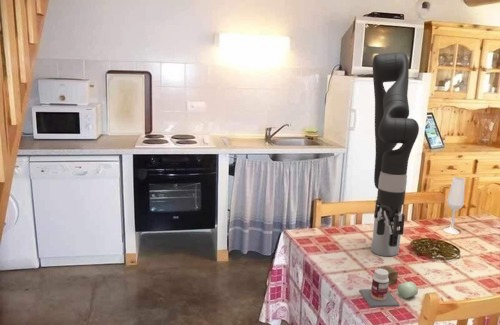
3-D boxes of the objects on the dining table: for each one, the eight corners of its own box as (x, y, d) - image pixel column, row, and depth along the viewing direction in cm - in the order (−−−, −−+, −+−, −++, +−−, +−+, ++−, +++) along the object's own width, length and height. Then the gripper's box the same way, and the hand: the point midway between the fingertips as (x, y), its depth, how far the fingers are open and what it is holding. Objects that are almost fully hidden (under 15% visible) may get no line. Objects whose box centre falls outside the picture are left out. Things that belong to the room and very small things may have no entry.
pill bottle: (368, 292, 131) (371, 267, 129) (383, 292, 131) (386, 267, 129) (373, 300, 126) (376, 275, 124) (389, 300, 127) (392, 275, 125)
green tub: (395, 283, 132) (405, 281, 134) (399, 298, 131) (408, 295, 133) (405, 283, 128) (415, 281, 130) (409, 298, 127) (419, 295, 129)
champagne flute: (451, 234, 182) (459, 181, 177) (439, 229, 188) (446, 177, 183) (462, 232, 185) (471, 180, 180) (450, 227, 191) (458, 176, 186)
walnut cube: (387, 277, 142) (388, 265, 141) (396, 284, 138) (398, 271, 137) (376, 279, 141) (378, 267, 140) (385, 286, 137) (387, 273, 136)
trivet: (386, 290, 134) (386, 288, 134) (399, 306, 125) (399, 304, 125) (359, 291, 133) (359, 289, 133) (370, 307, 124) (370, 305, 124)
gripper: (416, 194, 114) (409, 250, 118) (393, 180, 128) (387, 230, 132) (390, 195, 114) (384, 250, 117) (369, 180, 127) (364, 231, 131)
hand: (386, 240), depth 125 cm, fingers open, 8 cm apart
